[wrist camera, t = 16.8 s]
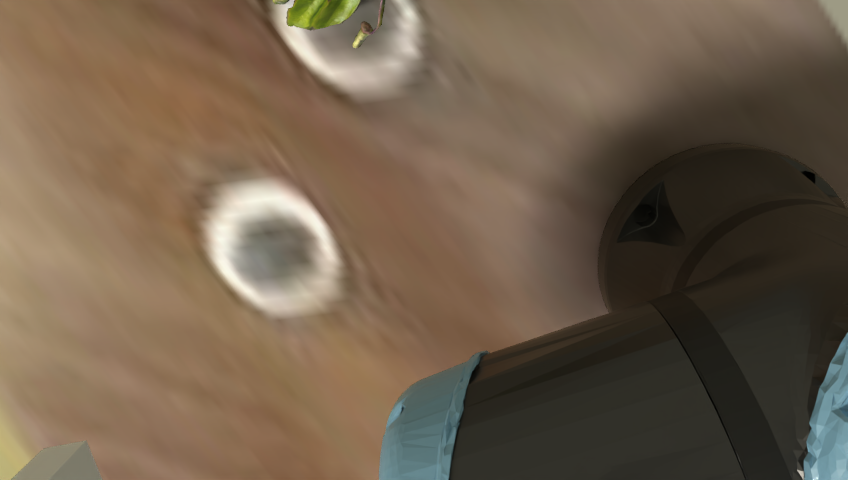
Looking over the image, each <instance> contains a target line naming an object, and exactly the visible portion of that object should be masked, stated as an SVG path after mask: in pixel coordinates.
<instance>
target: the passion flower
mask: <svg viewBox="0 0 848 480" xmlns="http://www.w3.org/2000/svg"><path fill="white" fill-rule="evenodd" d="M272 1H273V2H274V3H275V4H286V2H288V1H289V0H272ZM360 1H361V0H295V1H294V4H293V7H292V8H289V9H288V11H287V25H288V26H293V25H294V26H296V27H300V28H304V29H308V30H315V29H320V28H325V27H328V26H331V25H335V24H341V23H343V22H344V21H345V20H346V19H348V18H349V17H350V16H351V15H352V14H353V13H354V12H355V11H356V10H357V8H358V6H359V3H360ZM384 5H385V0H381V4H380V9H379V18H378V25H377V27H376V29H374V30H373V29H372V27H371V25H370V24H369V23H367V22H362V23H361V29H360V31H359V33H358V35H357V36H356V37H355V40H354V43H353V47H354V48H359V47H360V46H361V44H362V43H363V42H364V41H365V38H366V37H367V36H368V35H371V34H373V33H375V32H376V31H377V29H378V28H379V27H380V26H381V25H382V17H383V12H384Z"/></svg>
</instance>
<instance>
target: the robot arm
mask: <svg viewBox="0 0 848 480" xmlns="http://www.w3.org/2000/svg"><path fill="white" fill-rule="evenodd" d="M598 279H599V285H600V290H601V294H602V297H603V300H604V302H605V305H606V307H607V309H608V311H609V313H608V314H605V315H602V316H599V317H596V318H593V319H590V320H587V321H584V322H581V323H578V324H575V325H572V326H569V327H566V328H563V329H561V330H558V331H555V332H552V333H549V334H546V335H543V336H540V337H537V338H534V339H531V340H528V341H525V342H522V343H519V344H516V345H513V346H510V347H507V348H504V349H501V350H498V351H495V352H492V353H489V352H488V351H482V352H478V353H476V354H474V355H473V356H472V357H471V358H470V359H469V361H467V362H465V363H462V364H460V365H457V366H454V367H452V368H449V369H447V370H444V371H442V372H439V373H437V374H434V375H432V376H429V377H427V378H424V379H422V380H420V381H418V382H416V383H414V384H413V385H411V386H410V387H409V388H408V389H407V390H406V391H405V392H403V393H402V395H401V396H400V397H399V398H398V400H397V401H396V403H395V405H394V407H393V409H392V411H391V413H390V415H389V418H388V422H387V427H386V432H385V435H384V436H383V442H382V448H381V456H380V468H379V480H848V208H847V207H846V206H845V204H844V203H843V202H842V200H841V199H840V198H839V197H838V196H837V194H836V193H835V191H834V190H833V189H832V188H831V187H830V186H829V184H828V183H827V182H826V181H825V180H824V179H823V178H822V177H821V176H819V175H818V174H817V173H816V172H814V171H813V170H812V169H810V168H809V167H807V166H806V165H804V164H802V163H801V162H799V161H797V160H795V159H793V158H791V157H789V156H786V155H784V154H781V153H778V152H774V151H771V150H767V149H763V148H759V147H755V146H750V145H744V144H713V145H707V146H701V147H697V148H693V149H690V150H687V151H684V152H681V153H679V154H676V155H674V156H672V157H670V158H668V159H666V160H664V161H663V162H661V163H659V164H657V165H656V166H654V167H653V168H651V169H650V170H649V171H647V172H646V173H645V174H644V175H642V176H641V177H640V178H639V179H638V180H637V181H636V182H635V183H634V184H633V185H632V186H631V187H630V188H629V189H628V190H627V191H626V193H625V194H624V195H623V196H622V198H621V199H620V200H619V202H618V203H617V205H616V206H615V208H614V210H613V211H612V213H611V215H610V217H609V219H608V222H607V224H606V226H605V229H604V232H603V235H602V238H601V242H600V247H599V254H598ZM11 480H102V478H101V475H100V473H99V470H98V468H97V465H96V463H95V461H94V458H93V456H92V453H91V451H90V448H89V446H88V443H87V441H81V442H76V443H70V444H65V445H60V446H54V447H49V448H44V449H43V450H42V451H40V452H39V453H38V454H37V455H36V456H35V457H34V458H33V459H32V460H31V461H30V462H29V463H28V464H27V465H26V466H25V467H24V468H23V469H22V470H21V471H19V472H18V473H17V474H16V475H15V476H14V477H13V478H12V479H11Z"/></svg>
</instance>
